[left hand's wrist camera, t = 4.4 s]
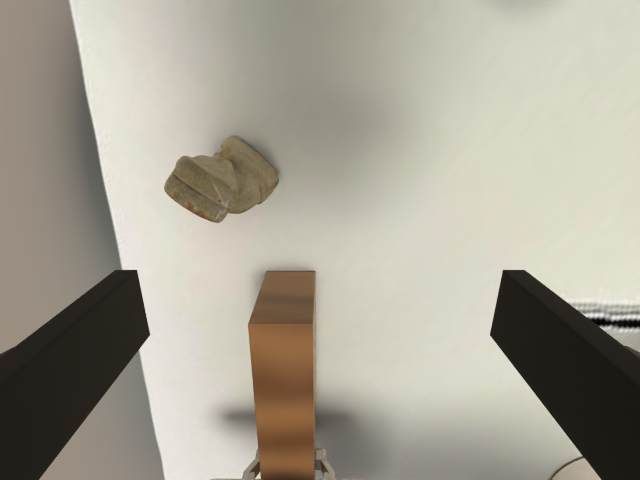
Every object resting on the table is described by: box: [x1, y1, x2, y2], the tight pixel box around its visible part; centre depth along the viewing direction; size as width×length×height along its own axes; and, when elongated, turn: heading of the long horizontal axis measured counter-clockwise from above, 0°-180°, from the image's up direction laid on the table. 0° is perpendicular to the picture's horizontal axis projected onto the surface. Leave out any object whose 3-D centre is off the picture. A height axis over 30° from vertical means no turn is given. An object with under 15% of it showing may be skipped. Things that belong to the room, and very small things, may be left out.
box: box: [248, 271, 316, 480], centre depth 43 cm, size 27×6×12 cm, turn 0°
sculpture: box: [164, 136, 279, 223], centre depth 32 cm, size 6×7×15 cm
